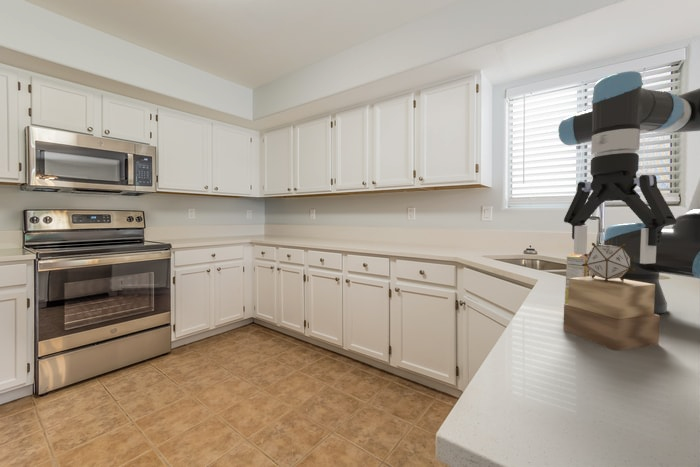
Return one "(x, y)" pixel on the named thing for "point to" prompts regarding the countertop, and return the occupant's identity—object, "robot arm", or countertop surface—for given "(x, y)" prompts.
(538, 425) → the countertop surface
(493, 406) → the countertop surface
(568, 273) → the candy box
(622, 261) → the game die
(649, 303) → the top block
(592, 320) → the bottom block
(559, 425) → the countertop surface
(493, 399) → the countertop surface
